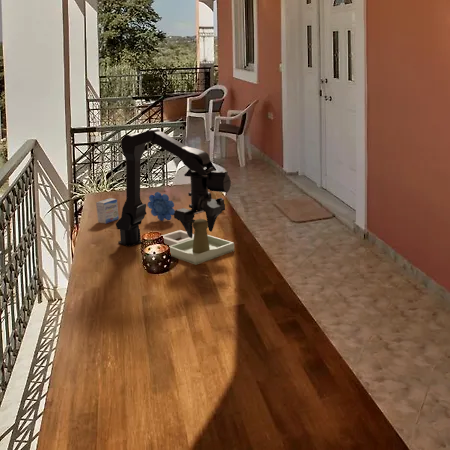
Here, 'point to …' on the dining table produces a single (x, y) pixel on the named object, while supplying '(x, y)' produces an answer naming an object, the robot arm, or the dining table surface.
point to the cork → (200, 236)
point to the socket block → (176, 237)
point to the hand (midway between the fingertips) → (200, 234)
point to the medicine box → (107, 210)
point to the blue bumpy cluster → (161, 206)
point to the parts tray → (216, 250)
